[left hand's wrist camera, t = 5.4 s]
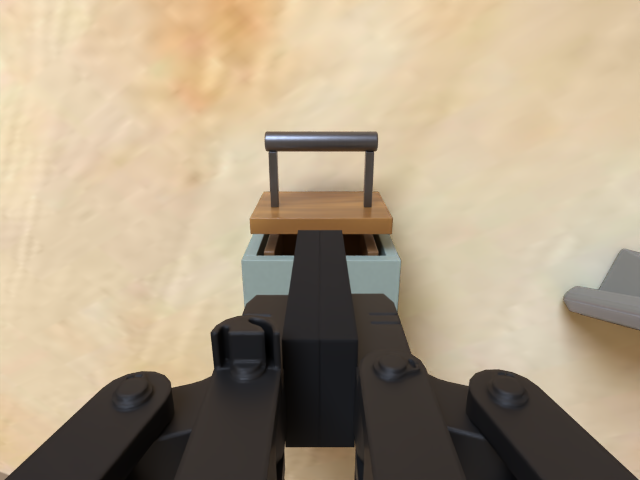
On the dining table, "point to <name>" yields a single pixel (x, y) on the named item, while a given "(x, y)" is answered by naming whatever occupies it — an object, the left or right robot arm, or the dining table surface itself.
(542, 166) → the dining table surface
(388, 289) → the sage green storage bin
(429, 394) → the left robot arm
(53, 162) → the dining table surface
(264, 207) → the drawer
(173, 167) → the dining table surface
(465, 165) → the dining table surface
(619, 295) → the digital clock
